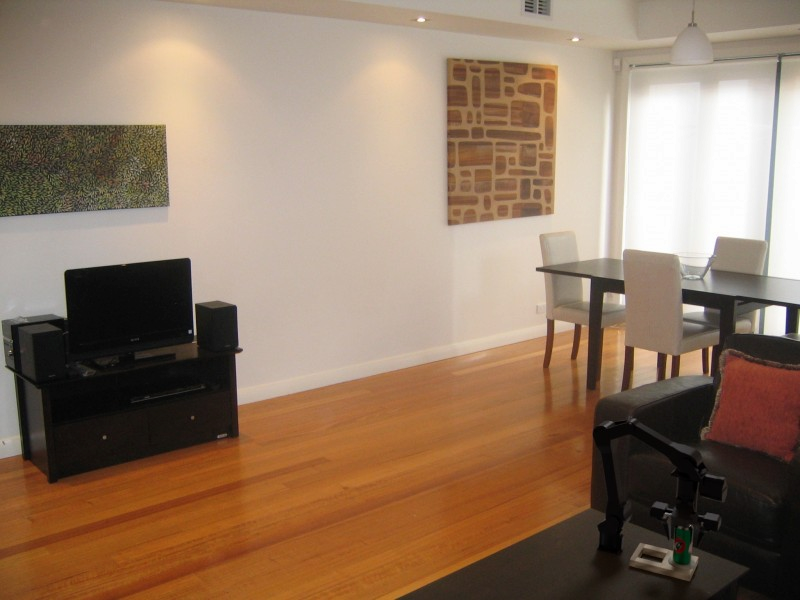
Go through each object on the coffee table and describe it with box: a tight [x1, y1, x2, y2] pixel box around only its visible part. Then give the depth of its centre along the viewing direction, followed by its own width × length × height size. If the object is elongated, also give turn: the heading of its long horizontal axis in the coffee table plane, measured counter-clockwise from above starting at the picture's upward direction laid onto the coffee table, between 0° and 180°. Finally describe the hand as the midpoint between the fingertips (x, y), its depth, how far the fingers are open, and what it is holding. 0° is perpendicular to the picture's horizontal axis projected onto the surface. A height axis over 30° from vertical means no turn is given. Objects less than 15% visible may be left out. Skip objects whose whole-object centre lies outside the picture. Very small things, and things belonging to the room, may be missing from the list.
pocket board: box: [629, 542, 699, 582], centre depth 237 cm, size 17×12×2 cm
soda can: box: [672, 525, 694, 565], centre depth 234 cm, size 5×5×12 cm
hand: (683, 543), depth 234 cm, fingers open, 8 cm apart
